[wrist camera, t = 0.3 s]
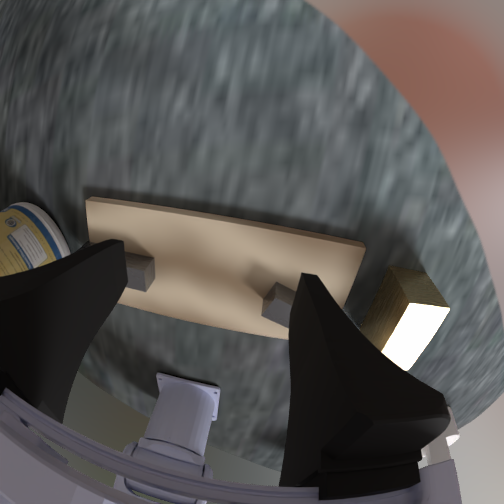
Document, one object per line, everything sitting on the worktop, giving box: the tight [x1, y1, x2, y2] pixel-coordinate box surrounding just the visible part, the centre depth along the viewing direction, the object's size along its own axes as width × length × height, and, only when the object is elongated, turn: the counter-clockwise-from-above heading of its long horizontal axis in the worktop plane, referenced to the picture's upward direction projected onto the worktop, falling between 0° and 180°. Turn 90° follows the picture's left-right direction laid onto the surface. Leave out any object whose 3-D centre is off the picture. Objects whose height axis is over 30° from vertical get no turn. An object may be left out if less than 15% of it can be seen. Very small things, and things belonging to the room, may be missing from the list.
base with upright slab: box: [421, 407, 459, 466], centre depth 28 cm, size 9×9×12 cm
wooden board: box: [85, 196, 366, 340], centre depth 22 cm, size 10×22×1 cm, turn 82°
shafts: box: [76, 241, 296, 329], centre depth 20 cm, size 4×22×3 cm, turn 82°
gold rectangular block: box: [360, 266, 450, 370], centre depth 20 cm, size 4×7×5 cm, turn 172°
